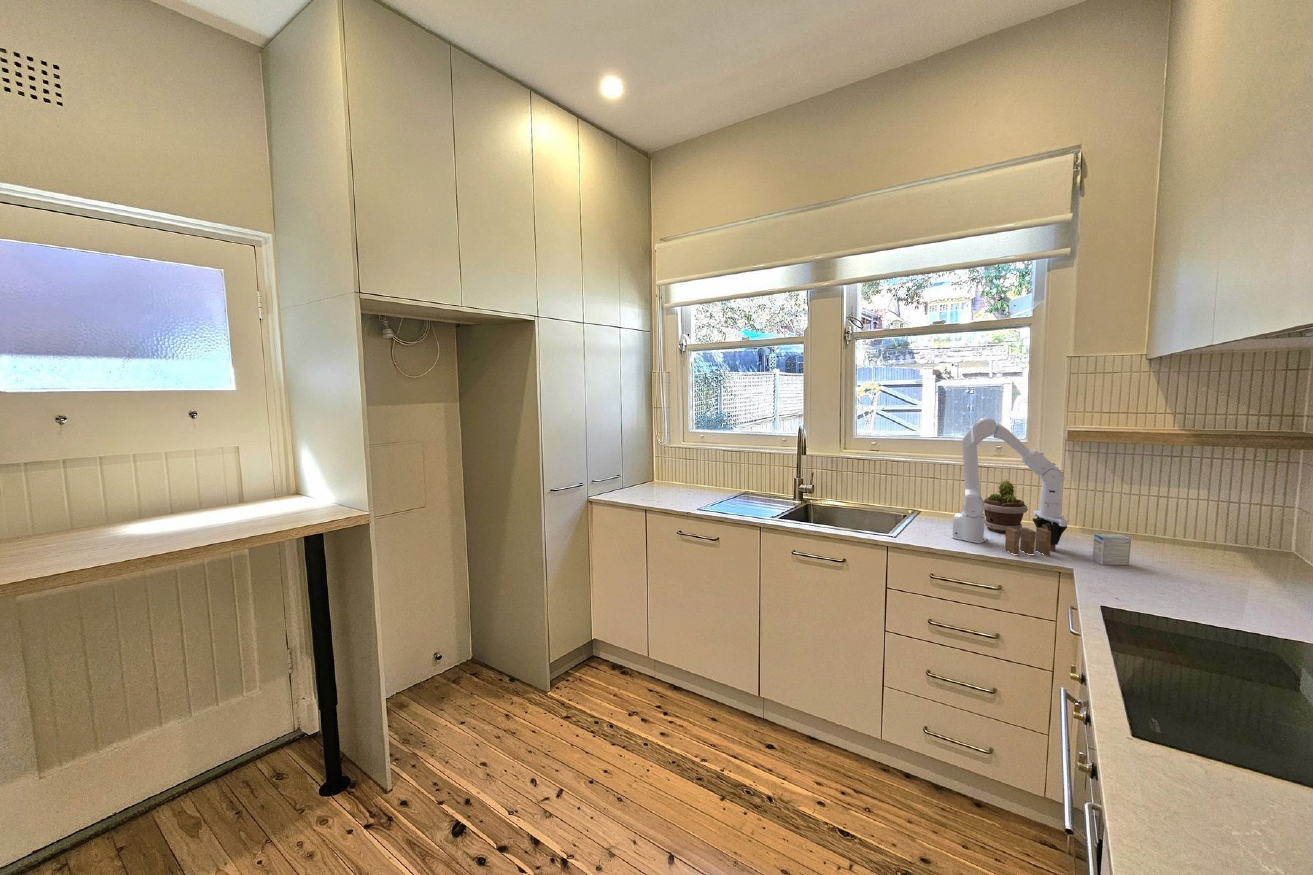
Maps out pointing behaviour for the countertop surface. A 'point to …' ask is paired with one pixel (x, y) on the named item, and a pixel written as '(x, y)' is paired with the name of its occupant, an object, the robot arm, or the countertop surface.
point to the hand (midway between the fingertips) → (1048, 542)
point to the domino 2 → (1027, 540)
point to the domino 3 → (1043, 541)
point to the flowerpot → (1004, 509)
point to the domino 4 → (1052, 547)
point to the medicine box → (1111, 549)
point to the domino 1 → (1012, 540)
